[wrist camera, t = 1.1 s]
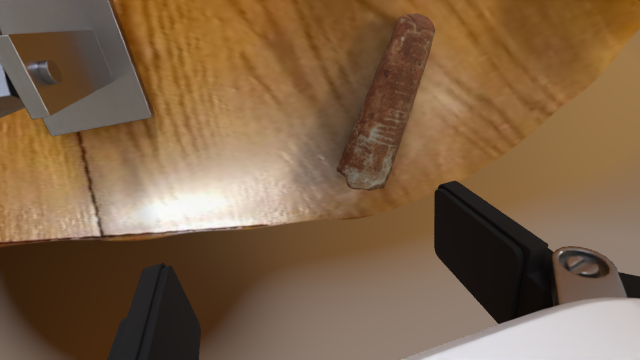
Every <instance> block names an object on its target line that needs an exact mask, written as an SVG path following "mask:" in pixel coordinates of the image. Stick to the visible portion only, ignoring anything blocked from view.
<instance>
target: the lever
mask: <svg viewBox="0 0 640 360" xmlns="http://www.w3.org/2000/svg"><path fill="white" fill-rule="evenodd" d="M0 35H2V32H1V28H0ZM23 107H25V106H24V104H23V102H22V100H21V99H20V97H19V95H18V93H17V91H16V90H15V88H14V86H13V84H12V82H11V80H10V79H9V77H8V75H7V73H6V71H5V70H4V68H3V66H2V64H1V62H0V111H6V110H12V109H18V108H23Z"/></svg>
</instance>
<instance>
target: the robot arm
mask: <svg viewBox="0 0 640 360" xmlns="http://www.w3.org/2000/svg"><path fill="white" fill-rule="evenodd" d="M434 218H435V219H434V222H435V223H434V225H435V226H434V228H435V229H434V236H435V237H434V239H435V240H434V244H435V245H434V248H435V252H436V254H437V256H438V257H439V259H440V260H441V261H442V262H443V263H444V264H445V265H446V266H447V267H448V268H449V270H450V271H451V272H452V273H453V274H454V275H455V276H456V277H457V279H458V280H459V281H460V282H461V283H462V284H463V285H464V286H465V287H466V288H467V290H468V291H469V292H470V293H471V294H472V295H473V296H474V297H475V298H476V300H477V301H478V302H479V303H480V304H481V305H482V306H483V307H484V308H485V309H486V311H487V312H488V313H489V314H490V315H491V316H492V317H493V318H494V320H495V321H496V322H497V323H498V325H495V326H493V327H490V328H487V329H484V330H482V331H479V332H476V333H473V334H470V335H467V336H465V337H462V338H459V339H456V340H454V341H451V342H448V343H445V344H442V345H440V346H437V347H434V348H431V349H429V350H426V351H423V352H420V353H417V354H415V355H412V356H409V357H406V358H404V359H401V360H640V276H634V275H629V274H625V273H619V272H618V271H617V268H616V267H615V265H614V264H613V262H612V261H610V260H609V259H608V258H607V257H606V256H604V255H602V254H600V253H598V252H596V251H593V250H590V249H587V248H582V247H574V246H568V247H562V248H559V249H557V250H556V251H555V252H553V251H551V250H550V249H548V244H547V243H546V242H544V241H543V240H541V239H540V238H538V237H537V236H535V235H534V234H533V233H531V232H530V231H528V230H527V229H525V228H524V227H522V226H521V225H519V224H518V223H517V222H515V221H514V220H512V219H511V218H509V217H508V216H506V215H505V214H503V213H502V212H501V211H499V210H498V209H496V208H495V207H493V206H492V205H491V204H489V203H488V202H486V201H485V200H483V199H482V198H480V197H479V196H478V195H476V194H475V193H473V192H472V191H470V190H469V189H467V188H466V187H464V186H463V185H462V184H460V183H459V182H457V181H451V182H448V183H444V184H441V185H439V187H438V190H436V191H435V217H434ZM200 335H201V329H200V324H199V321H198V319H197V317H196V315H195V313H194V311H193V309H192V307H191V304H190V302H189V300H188V298H187V296H186V294H185V292H184V290H183V288H182V286H181V284H180V282H179V280H178V278H177V276H176V273H175V271H174V269H173V268H172V266H167V267H166V265H165V264H164V263H162V264H158V265H154V266H151V267H147V268H145V269H143V271H142V274H141V277H140V280H139V283H138V286H137V289H136V292H135V295H134V298H133V301H132V304H131V307H130V310H129V313H128V316H127V317H125V318H124V319H123V320H122V321H121V323H120V325H119V328H118V331H117V334H116V337H115V339H114V342H113V345H112V348H111V351H110V354H109V357H108V359H107V360H199V348H200Z"/></svg>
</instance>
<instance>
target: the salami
mask: <svg viewBox="0 0 640 360" xmlns="http://www.w3.org/2000/svg"><path fill="white" fill-rule="evenodd" d="M434 33H435V28H434V25H433V23H432V22H431V20H430V19H428V18H427V17H425V16H423V15H420V14H406V15H403V16H401V17H399V19H398V22H397V24H396V27H395V30H394V32H393V35H392V38H391V40H390V43H389V45H388V47H387V50H386V52H385V54H384V56H383V58H382V60H381V62H380V65H379V67H378V70H377V72H376V75H375V77H374V80H373V83H372V86H371V88H370V90H369V92H368V95H367V97H366V100H365V103H364V105H363V108H362V110H361V112H360V115H359V117H358V120H357V122H356V124H355V126H354V128H353V130H352V133H351V135H350V138H349V141H348V143H347V145H346V147H345V150H344V152H343V154H342V157H341V159H340V162H339V165H338V167H337V171H338V172H340V173H341V174H342V175H344V176H345V177H346V182H347V185H348V186H349V187H350V188H352V189H365V190H374V189H377V188H384V187H385V184H386V181H387V179H388V177H389V174H390V172H391V169H392V165H393V162H394V160H395V156H396V153H397V151H398V148H399V144H400V141H401V138H402V134H403V131H404V129H405V126H406V124H407V121H408V118H409V114H410V111H411V109H412V106H413V103H414V99H415V96H416V93H417V90H418V87H419V84H420V80H421V77H422V74H423V71H424V68H425V65H426V62H427V59H428V55H429V52H430V49H431V45H432V40H433V37H434Z"/></svg>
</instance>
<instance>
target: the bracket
mask: <svg viewBox="0 0 640 360" xmlns="http://www.w3.org/2000/svg"><path fill="white" fill-rule="evenodd" d="M0 28H1V32H2V35H0V62H1V64H2V66H3V68H4V70H5V71H6V73H7V75H8V77H9V79H10V80H11V82H12V84H13V86H14V88H15V90H16V91H17V93H18V95H19V97H20V99H21V100H22V102H23V104H24V106H25V107H23V108H26V110H27V111H28V113H29V115H30V117H31V119H38V118H42V119H43V121H44V123H45V125H46V127H47V129H48V130H49V132H50V134H51V136H57V135H62V134H67V133H72V132H78V131H83V130H88V129H94V128H99V127H104V126H110V125H115V124H120V123H125V122H131V121H136V120H141V119H147V118H152V117H153V116H154V112H153V109H152V106H151V104H150V101H149V98H148V95H147V93H146V90H145V87H144V85H143V82H142V79H141V77H140V74H139V71H138V68H137V66H136V63H135V60H134V58H133V55H132V52H131V50H130V47H129V44H128V41H127V39H126V36H125V33H124V31H123V28H122V25H121V23H120V20H119V17H118V15H117V12H116V9H115V6H114V4H113V1H112V0H0ZM23 108H18V109H12V110H6V111H0V118H2V117H4V116H6V115H9V114H11V113H13V112H16V111H18V110H20V109H23Z"/></svg>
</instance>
